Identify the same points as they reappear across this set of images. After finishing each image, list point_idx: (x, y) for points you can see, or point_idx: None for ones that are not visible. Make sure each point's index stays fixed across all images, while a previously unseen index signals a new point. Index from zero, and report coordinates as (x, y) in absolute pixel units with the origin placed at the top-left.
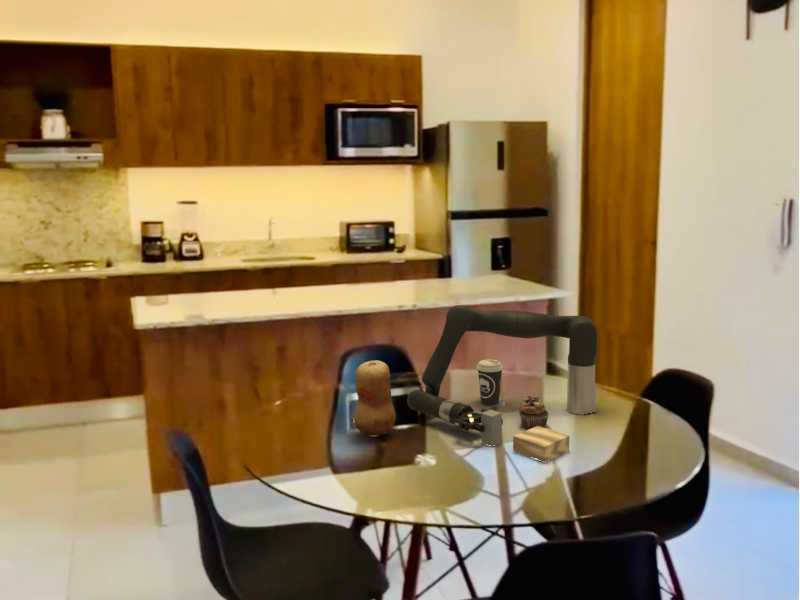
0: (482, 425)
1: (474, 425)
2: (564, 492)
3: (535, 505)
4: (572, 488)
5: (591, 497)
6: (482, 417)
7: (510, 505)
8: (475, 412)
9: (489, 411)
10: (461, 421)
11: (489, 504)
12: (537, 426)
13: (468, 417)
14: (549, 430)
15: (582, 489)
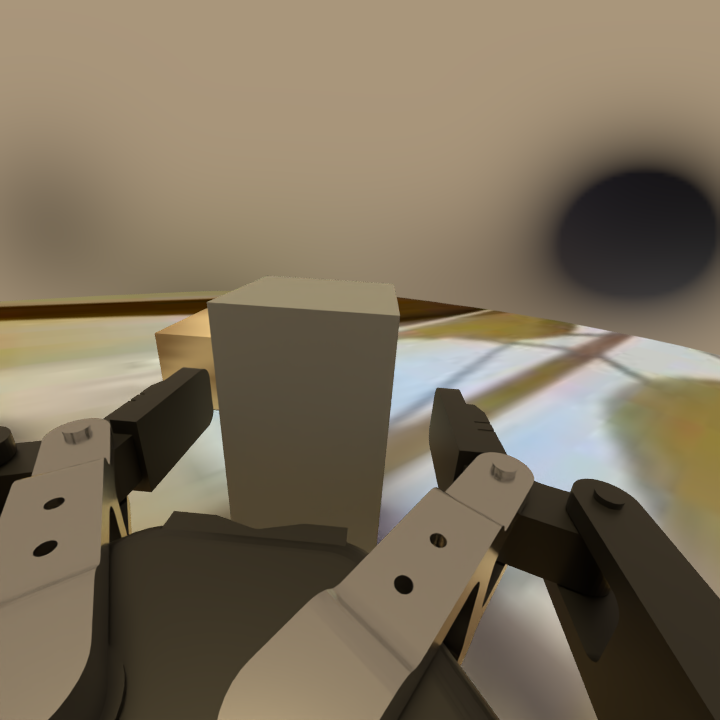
0: (450, 389)
1: (503, 450)
2: (449, 321)
3: (535, 328)
4: (424, 319)
5: (425, 308)
6: (394, 359)
7: (589, 341)
8: (84, 620)
9: (284, 299)
10: (716, 638)
11: (642, 356)
12: (166, 332)
13: (447, 624)
14: (205, 313)
15: (413, 314)
